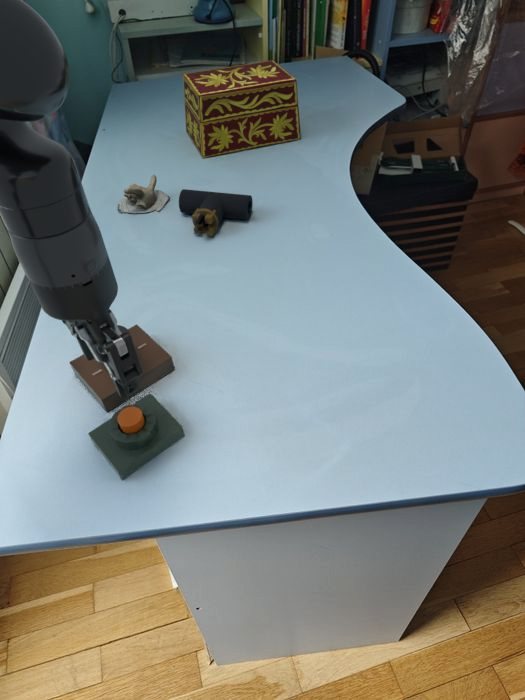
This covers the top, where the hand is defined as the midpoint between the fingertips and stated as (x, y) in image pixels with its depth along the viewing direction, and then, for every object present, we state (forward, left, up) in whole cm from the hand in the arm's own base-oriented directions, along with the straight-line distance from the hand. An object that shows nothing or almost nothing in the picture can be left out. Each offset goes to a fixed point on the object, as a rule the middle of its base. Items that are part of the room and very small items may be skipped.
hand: (111, 373), depth 57 cm
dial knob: (+5, +12, -11) cm, 17 cm away
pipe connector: (+41, +36, -14) cm, 56 cm away
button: (0, 0, -10) cm, 10 cm away
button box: (0, 0, -14) cm, 14 cm away
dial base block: (+5, +12, -14) cm, 19 cm away
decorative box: (+74, +65, -14) cm, 99 cm away
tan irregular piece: (+35, +54, -14) cm, 66 cm away
